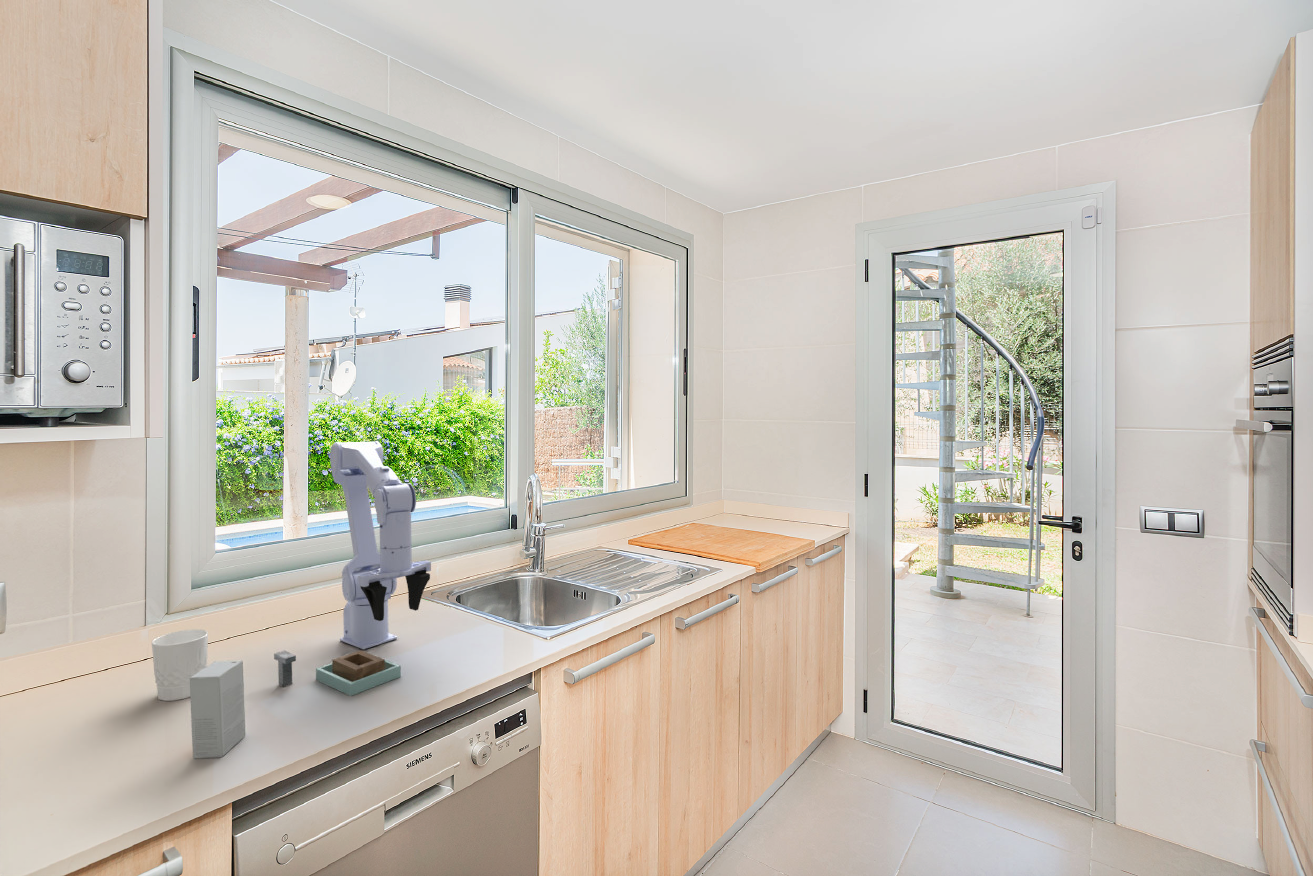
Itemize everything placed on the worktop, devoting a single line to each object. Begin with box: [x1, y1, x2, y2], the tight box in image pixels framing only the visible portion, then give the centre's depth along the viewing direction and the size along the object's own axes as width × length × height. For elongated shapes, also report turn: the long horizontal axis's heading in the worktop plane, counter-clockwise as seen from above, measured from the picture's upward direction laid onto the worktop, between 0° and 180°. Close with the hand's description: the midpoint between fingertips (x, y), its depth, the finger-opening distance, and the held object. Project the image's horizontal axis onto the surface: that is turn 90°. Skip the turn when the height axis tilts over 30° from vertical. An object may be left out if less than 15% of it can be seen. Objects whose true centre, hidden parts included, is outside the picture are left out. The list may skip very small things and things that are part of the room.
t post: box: [273, 650, 297, 688], centre depth 113 cm, size 4×2×6 cm, turn 56°
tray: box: [315, 652, 402, 697], centre depth 116 cm, size 12×10×2 cm
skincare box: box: [189, 660, 247, 759], centre depth 91 cm, size 6×4×12 cm
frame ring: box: [331, 649, 386, 682], centre depth 116 cm, size 6×8×3 cm
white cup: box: [151, 628, 209, 702], centre depth 109 cm, size 8×8×10 cm
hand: (396, 614), depth 122 cm, fingers open, 7 cm apart
